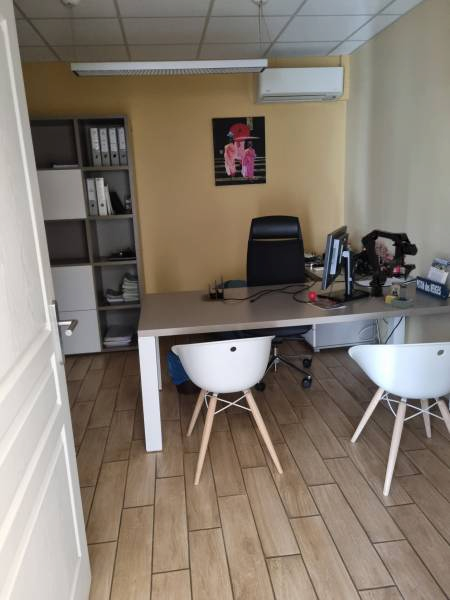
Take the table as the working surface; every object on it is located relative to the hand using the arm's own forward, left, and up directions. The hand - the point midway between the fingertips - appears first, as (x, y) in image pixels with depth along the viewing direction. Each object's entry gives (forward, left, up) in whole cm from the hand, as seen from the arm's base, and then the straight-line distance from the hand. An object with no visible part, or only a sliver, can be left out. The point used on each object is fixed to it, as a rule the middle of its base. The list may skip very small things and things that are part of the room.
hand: (398, 279), depth 282 cm
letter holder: (-86, -75, -13) cm, 115 cm away
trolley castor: (+1, -3, -13) cm, 13 cm away
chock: (+1, -8, -13) cm, 16 cm away
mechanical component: (-2, +6, -13) cm, 15 cm away
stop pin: (+9, -10, -12) cm, 18 cm away
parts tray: (+9, -10, -13) cm, 19 cm away
